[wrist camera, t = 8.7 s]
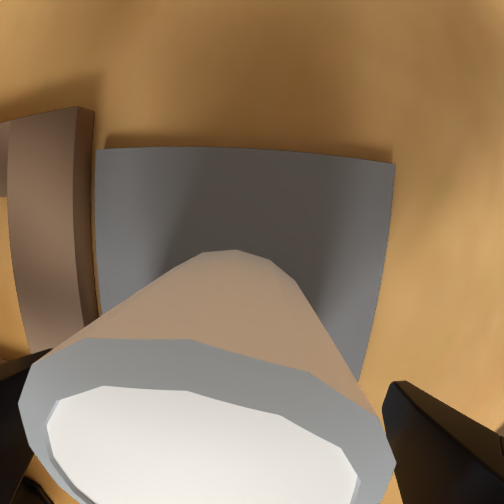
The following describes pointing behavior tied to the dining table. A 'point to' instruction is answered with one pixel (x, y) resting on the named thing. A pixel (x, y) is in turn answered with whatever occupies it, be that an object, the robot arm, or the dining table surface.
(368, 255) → the rubber mat
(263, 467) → the white cup
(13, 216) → the board
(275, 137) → the dining table surface
